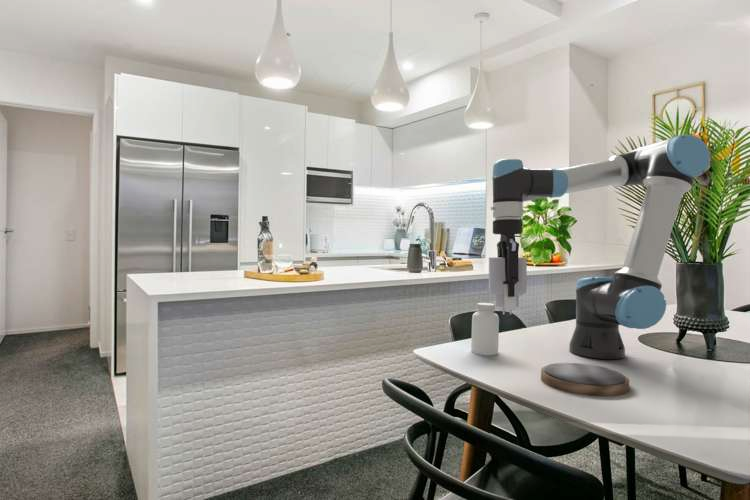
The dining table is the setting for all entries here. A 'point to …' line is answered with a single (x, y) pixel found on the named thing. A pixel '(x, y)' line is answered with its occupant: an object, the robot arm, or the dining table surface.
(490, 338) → the pill bottle
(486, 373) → the dining table surface
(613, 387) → the round mirror
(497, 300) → the charger
